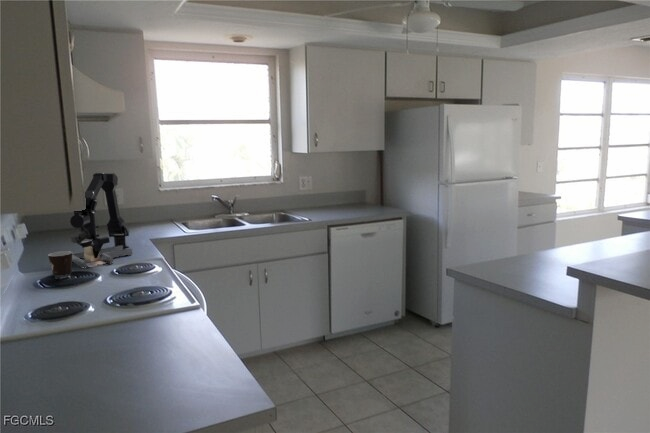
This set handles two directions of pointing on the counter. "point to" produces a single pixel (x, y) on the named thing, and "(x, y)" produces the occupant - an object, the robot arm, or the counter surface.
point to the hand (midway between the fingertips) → (92, 257)
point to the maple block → (89, 254)
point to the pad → (96, 263)
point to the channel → (102, 254)
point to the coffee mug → (61, 262)
